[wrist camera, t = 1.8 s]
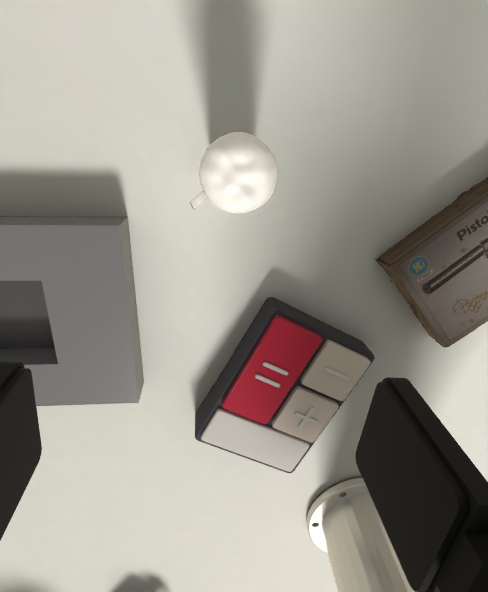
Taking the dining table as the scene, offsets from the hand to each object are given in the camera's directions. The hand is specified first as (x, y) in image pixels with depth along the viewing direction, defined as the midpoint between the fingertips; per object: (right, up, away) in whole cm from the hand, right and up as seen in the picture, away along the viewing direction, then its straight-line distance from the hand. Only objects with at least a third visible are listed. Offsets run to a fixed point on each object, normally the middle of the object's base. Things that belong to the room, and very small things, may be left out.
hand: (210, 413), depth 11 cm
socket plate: (-19, +2, +23) cm, 29 cm away
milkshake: (0, +13, +20) cm, 24 cm away
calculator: (+4, -5, +28) cm, 29 cm away
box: (+22, +8, +24) cm, 34 cm away
